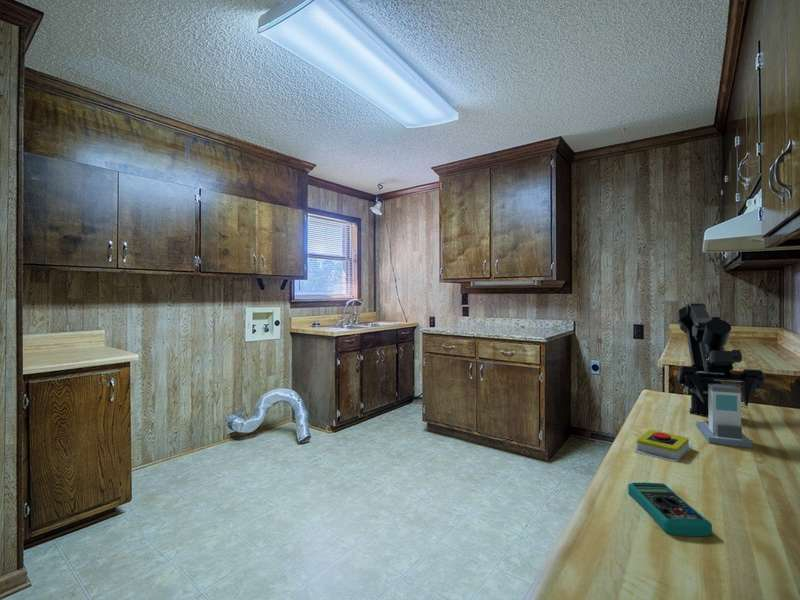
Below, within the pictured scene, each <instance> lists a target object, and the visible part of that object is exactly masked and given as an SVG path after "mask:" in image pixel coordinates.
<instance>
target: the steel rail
mask: <svg viewBox="0 0 800 600" xmlns="http://www.w3.org/2000/svg"><path fill="white" fill-rule="evenodd" d="M703 422H705V423H706V424H707V426H708V427H709V420H704V421H703ZM714 434H715V435H716V436H717V434H716V433H714ZM717 438H720V439H730V440H739V441H742V439H735V438H726V437H718V436H717Z"/></svg>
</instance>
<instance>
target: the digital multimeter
mask: <svg viewBox="0 0 800 600" xmlns="http://www.w3.org/2000/svg"><path fill="white" fill-rule="evenodd" d="M627 491H628V495H630V497H631V498H632V499H633V500H634V501H635V502H636V503H637V504H639V505H640V506H641V508H642V509H643V510H644V511H645V512H646V513H648V515H649V516H650V517H651V518H652V519H653V520H654V522H656V524H657V525H658V526H659V528H660V529H662V531H663V532H664V533H665V534H667V535H674V536H682V537H708V536H712V534H713V525H712V523H711V522H710V521H709V520H708V519H707V518H706V517H705V516H704V515H702V514H701V513H700V512H698V511H697V510H696V509H695V508H693V507H692V506H691V505H689V503H687V502H686V501H685V500H684V499H683V498H682V497H680V496H679V494H677V493H676V492H675V491H673V490H672V489H671V488H670V487H669V486H668V485H666V484H665V483H660V482H659V483H658V482H631V483H628V485H627Z"/></svg>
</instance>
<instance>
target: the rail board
mask: <svg viewBox="0 0 800 600" xmlns="http://www.w3.org/2000/svg"><path fill="white" fill-rule="evenodd" d="M695 425H696V426H697V427H696V426H695V427H696V428H697V429H698V431H699V430H700V431H699V432H700V434H701V435H702V436H703V438H705V440H706V441H707V443H708V444H717V445H724V446H731V447H733V446H734V447H740V446H742V448H749V447H750V449H753V441H751V439H750V438H749V437H748V436H746V434H745V433H743V432H742V441H739V440H730V439H720V438H717V436H716V435H715V434H714V433H712V432H711V430H710V429H709V427H708V426H707V424H706V423H705V422H704V421H700V420H699V421H698V420H696V421H695Z"/></svg>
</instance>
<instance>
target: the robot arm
mask: <svg viewBox="0 0 800 600" xmlns="http://www.w3.org/2000/svg"><path fill="white" fill-rule="evenodd" d="M676 323H677V324H678V325H679V329H680V330H681V331H682V332H684V334H685V335H686V340H687V345H688V352H689V356H690V357H689V358H690V363H691V366H690V365H681V366H680V367H679V368H678V373H677V381H678V384H679V385H683V386H684V391H685V393H686V394H687V395H688V396H689V395H690V408H689V412H690V413H689V412H688V413H689V414H691V413H697V414H696V415H699V414H702V415H701V416H706V415H708V416H707V417H709V412H708V383H709V384H722V383H723V382H737V383H738V382H739V383H740V387H741V388H740V389H741V397H742V400H743V404H744V406H745V407H748V405H749V403H750V396H751V392H754V391H756V390H758V389H761V387H762V385H763V383H764V380H765V379H766V375H765V374H764V372H763V371H762V370H761V369H755V368H754V369H752V368H751V369H750V368H743V369H742V370H743V371H742V372H741V373H732V372H731V371H733V370H734V365H733V364H735V363H741V362H742V361H743V356H742V352H741V349H732V350H726V349H725V346H726V345H727V343H728V341H729V337H730V334H731V331H732V325H731V324H730V323H729V322H727V321H726V320H723V319H721V317H720V316H710V314H709V312H708V309H707V308H706V304H705V303H702V302H697V303H696V302H695V303H694V302H693V303H692V302H689V303H686V305H685V306H684V307H682V308H680V309H678V311H677V313H676ZM721 381H722V382H721Z"/></svg>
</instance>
